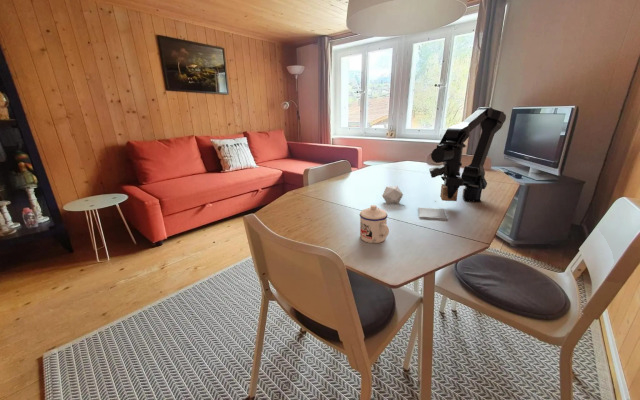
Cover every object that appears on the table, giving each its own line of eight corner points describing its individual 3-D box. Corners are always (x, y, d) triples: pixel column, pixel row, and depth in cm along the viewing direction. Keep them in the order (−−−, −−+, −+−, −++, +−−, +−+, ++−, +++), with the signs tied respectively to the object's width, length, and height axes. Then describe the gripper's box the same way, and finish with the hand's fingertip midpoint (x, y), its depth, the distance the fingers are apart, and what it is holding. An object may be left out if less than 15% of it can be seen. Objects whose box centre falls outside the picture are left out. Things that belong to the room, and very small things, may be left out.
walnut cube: (454, 196, 111) (455, 184, 110) (456, 201, 106) (458, 188, 105) (440, 196, 113) (441, 184, 111) (441, 200, 108) (443, 187, 106)
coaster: (443, 210, 108) (443, 209, 108) (447, 220, 99) (447, 218, 99) (418, 209, 111) (418, 207, 111) (419, 218, 102) (419, 216, 102)
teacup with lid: (354, 235, 91) (354, 204, 87) (375, 229, 94) (376, 199, 91) (375, 250, 81) (376, 216, 77) (398, 243, 84) (400, 210, 80)
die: (398, 209, 114) (408, 190, 114) (381, 199, 114) (391, 180, 114) (393, 208, 122) (402, 191, 123) (377, 200, 122) (386, 182, 123)
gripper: (429, 155, 115) (426, 189, 120) (433, 164, 98) (430, 202, 103) (457, 155, 112) (452, 190, 117) (466, 164, 95) (461, 204, 100)
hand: (448, 196), depth 109 cm, fingers closed on walnut cube, 5 cm apart
